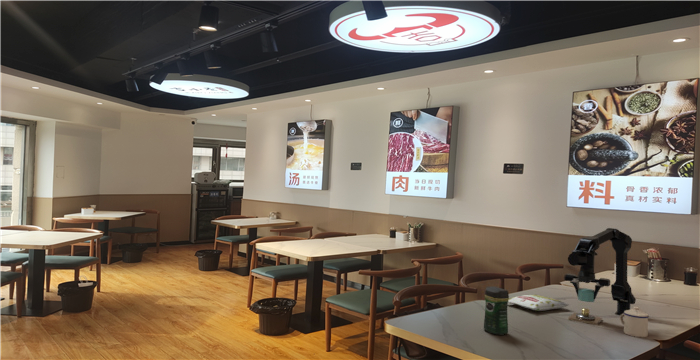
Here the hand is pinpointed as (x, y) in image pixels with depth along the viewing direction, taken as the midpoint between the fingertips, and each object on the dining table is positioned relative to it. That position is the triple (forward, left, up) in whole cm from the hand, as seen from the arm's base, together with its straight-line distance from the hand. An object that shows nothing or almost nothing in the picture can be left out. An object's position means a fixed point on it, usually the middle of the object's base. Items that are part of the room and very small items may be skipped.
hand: (586, 298), depth 216 cm
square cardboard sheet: (0, 0, -10) cm, 10 cm away
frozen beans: (-6, -24, -11) cm, 27 cm away
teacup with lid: (+8, +20, -10) cm, 24 cm away
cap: (0, 0, -1) cm, 1 cm away
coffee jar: (+50, -24, -10) cm, 57 cm away
